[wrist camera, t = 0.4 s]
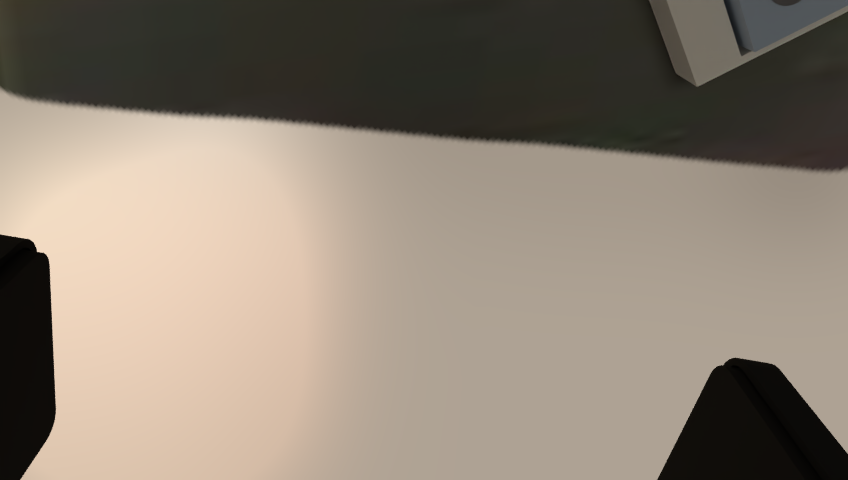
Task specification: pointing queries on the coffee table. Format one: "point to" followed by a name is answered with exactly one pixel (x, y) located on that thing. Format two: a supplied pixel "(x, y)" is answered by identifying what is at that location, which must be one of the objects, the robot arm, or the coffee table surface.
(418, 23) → the coffee table surface
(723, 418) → the robot arm
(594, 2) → the coffee table surface
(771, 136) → the coffee table surface
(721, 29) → the keypad
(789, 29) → the slate blue key
